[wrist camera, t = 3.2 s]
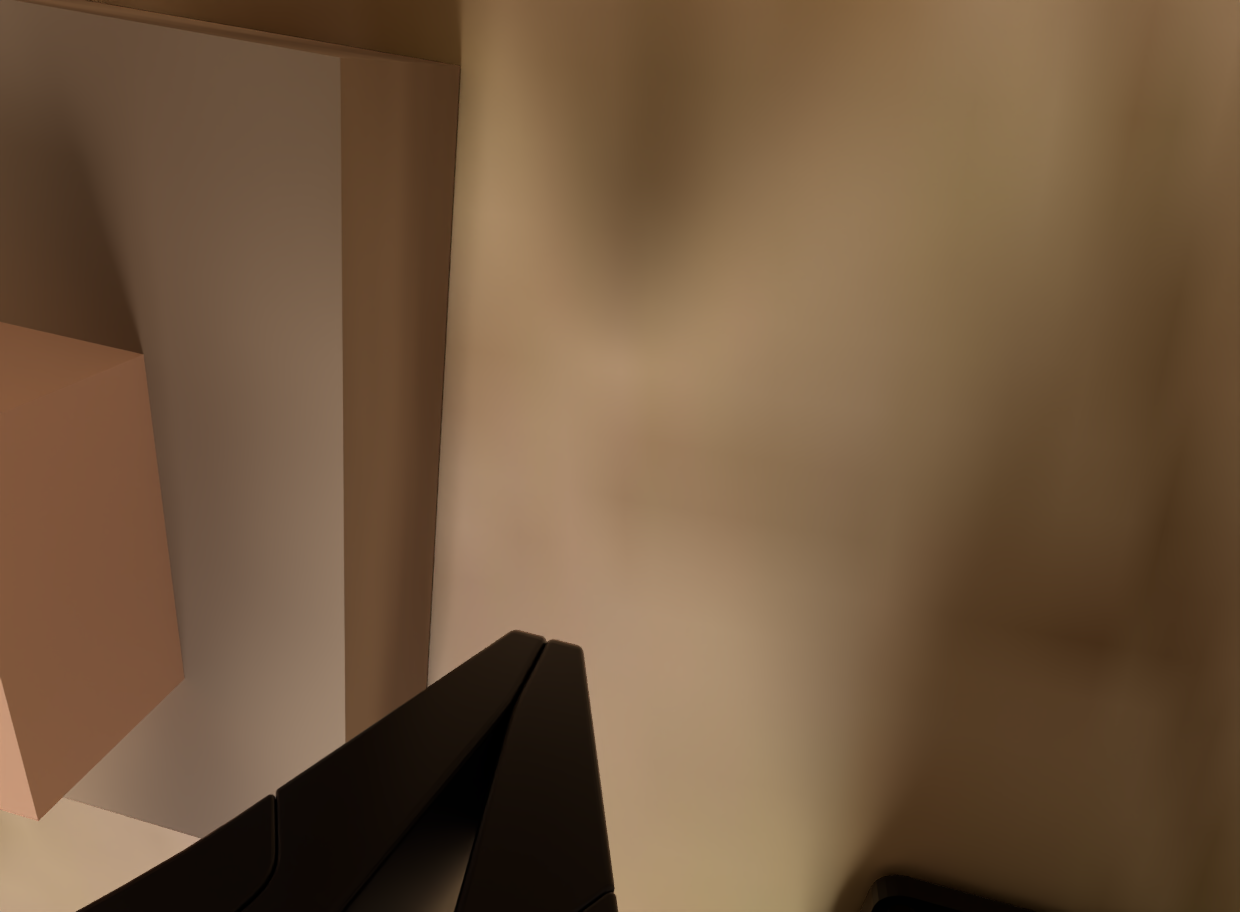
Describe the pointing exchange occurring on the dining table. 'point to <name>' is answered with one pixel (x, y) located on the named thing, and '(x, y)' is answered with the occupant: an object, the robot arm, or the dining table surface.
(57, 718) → the terracotta tile
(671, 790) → the dining table surface
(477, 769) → the robot arm
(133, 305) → the tan board
